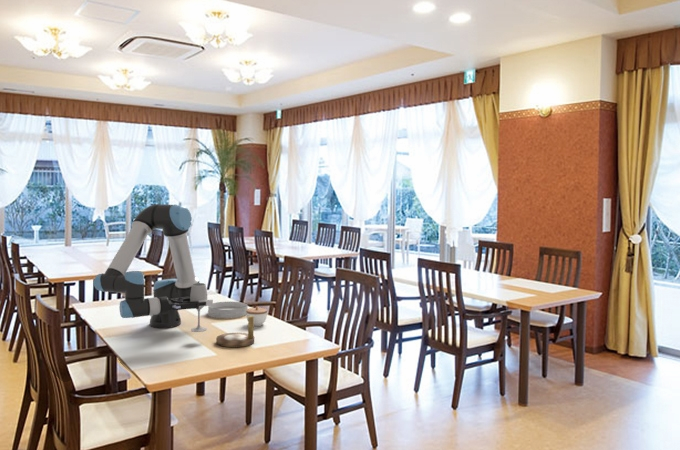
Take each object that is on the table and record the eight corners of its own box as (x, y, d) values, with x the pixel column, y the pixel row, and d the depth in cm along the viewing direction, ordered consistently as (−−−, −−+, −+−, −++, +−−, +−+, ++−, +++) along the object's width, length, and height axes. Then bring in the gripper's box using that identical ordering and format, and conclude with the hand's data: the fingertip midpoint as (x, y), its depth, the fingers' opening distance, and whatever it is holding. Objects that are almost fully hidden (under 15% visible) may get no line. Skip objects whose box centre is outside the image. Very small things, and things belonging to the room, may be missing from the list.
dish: (244, 309, 312) (244, 300, 312) (250, 317, 292) (251, 308, 291) (206, 310, 305) (206, 302, 305) (209, 319, 284) (209, 310, 284)
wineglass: (192, 332, 236) (192, 286, 234) (188, 328, 243) (188, 283, 241) (209, 331, 240) (209, 285, 238) (205, 326, 246) (205, 282, 245)
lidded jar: (262, 327, 269) (263, 309, 269) (242, 326, 271) (243, 308, 271) (269, 323, 280) (270, 305, 279) (250, 321, 282) (250, 304, 281)
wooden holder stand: (222, 349, 230) (223, 321, 229) (211, 339, 245) (212, 313, 244) (259, 344, 239) (260, 318, 238) (246, 335, 253) (247, 310, 253)
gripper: (152, 309, 239) (202, 304, 252) (164, 319, 222) (217, 313, 235) (152, 293, 239) (202, 288, 251) (164, 302, 222) (217, 296, 234)
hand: (209, 300), depth 243 cm, fingers closed on wineglass, 8 cm apart
